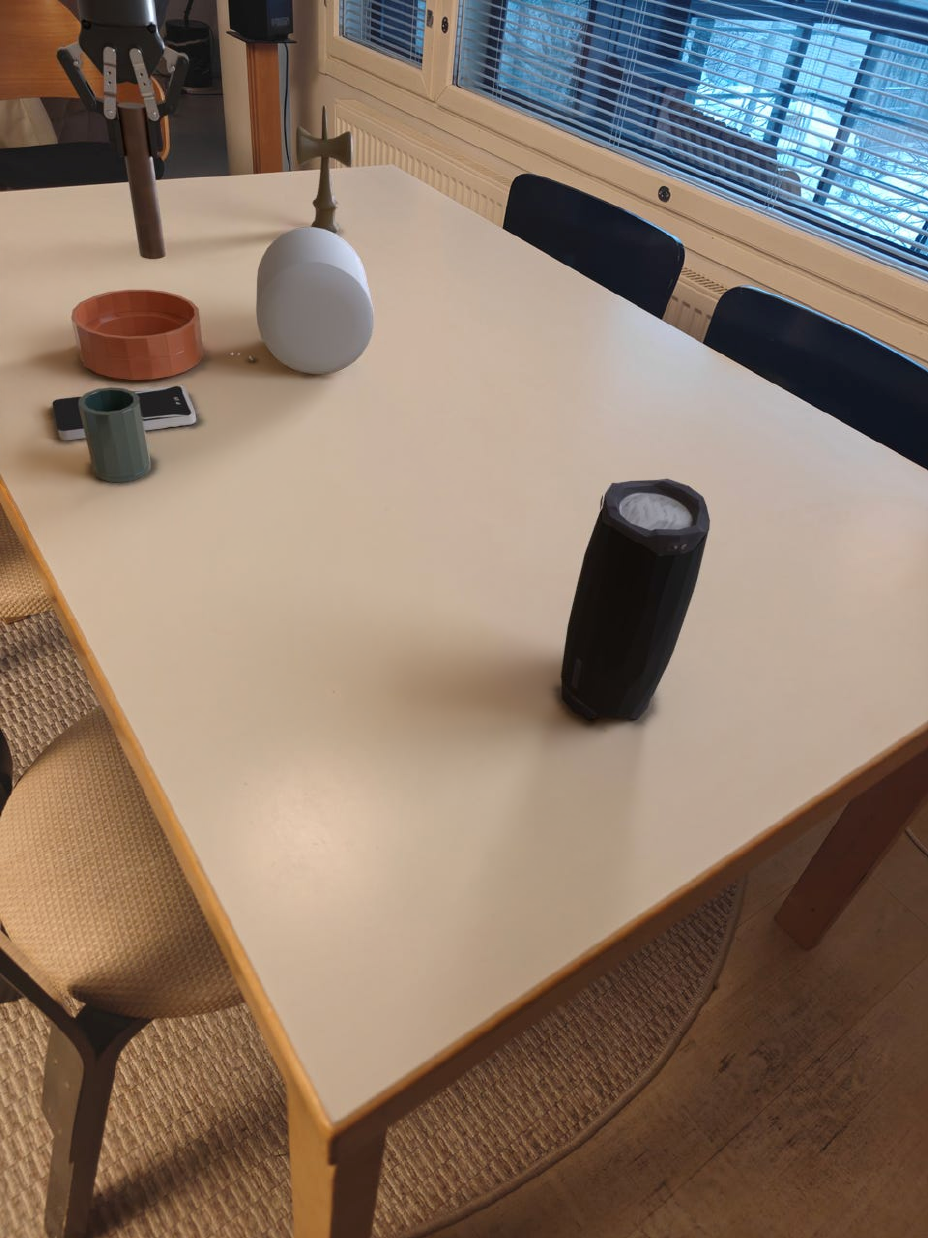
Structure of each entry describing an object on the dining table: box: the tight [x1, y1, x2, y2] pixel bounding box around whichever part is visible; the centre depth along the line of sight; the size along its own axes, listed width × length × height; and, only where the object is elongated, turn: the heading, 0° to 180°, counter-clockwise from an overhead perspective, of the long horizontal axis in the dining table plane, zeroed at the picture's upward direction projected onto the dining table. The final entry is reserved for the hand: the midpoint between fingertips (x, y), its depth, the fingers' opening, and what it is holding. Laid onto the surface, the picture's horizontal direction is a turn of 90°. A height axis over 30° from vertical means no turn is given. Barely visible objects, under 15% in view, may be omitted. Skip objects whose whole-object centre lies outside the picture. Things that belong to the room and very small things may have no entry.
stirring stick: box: [116, 101, 167, 260], centre depth 99 cm, size 3×3×16 cm
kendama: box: [295, 105, 354, 234], centre depth 149 cm, size 6×10×20 cm, turn 98°
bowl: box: [71, 289, 205, 381], centre depth 111 cm, size 15×15×6 cm
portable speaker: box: [560, 478, 711, 721], centre depth 68 cm, size 9×9×20 cm
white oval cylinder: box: [230, 226, 375, 375], centre depth 116 cm, size 19×15×25 cm
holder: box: [79, 386, 152, 483], centre depth 90 cm, size 6×6×8 cm
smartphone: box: [51, 385, 197, 442], centre depth 101 cm, size 8×1×15 cm
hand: (138, 154), depth 97 cm, fingers closed on stirring stick, 3 cm apart
